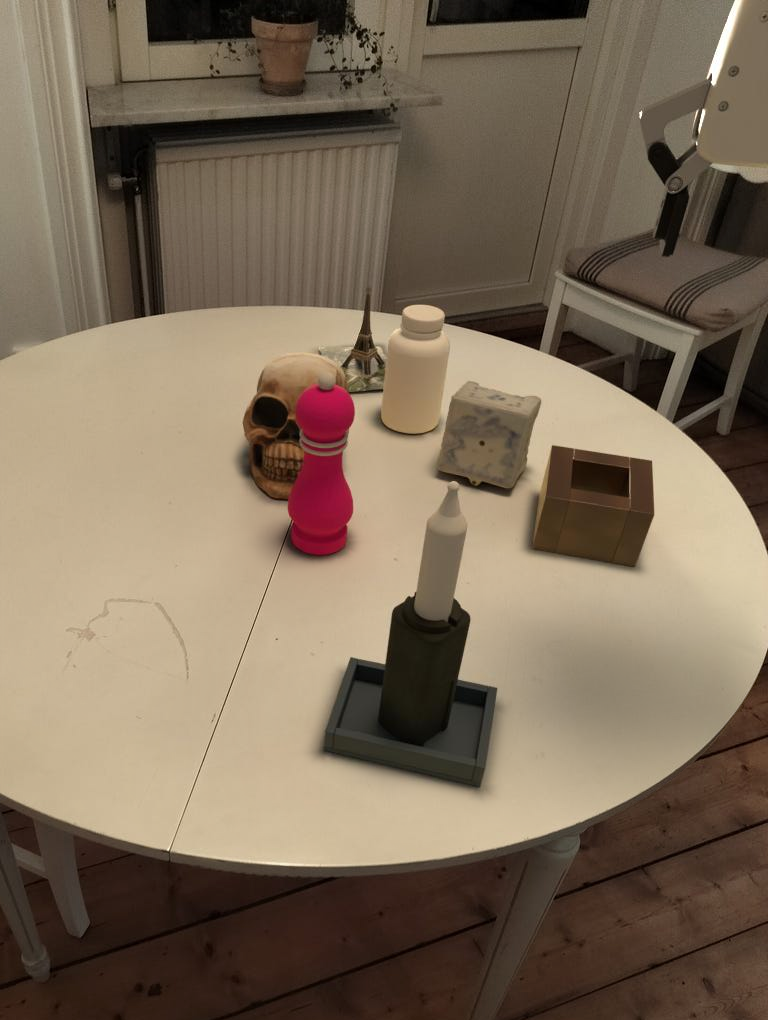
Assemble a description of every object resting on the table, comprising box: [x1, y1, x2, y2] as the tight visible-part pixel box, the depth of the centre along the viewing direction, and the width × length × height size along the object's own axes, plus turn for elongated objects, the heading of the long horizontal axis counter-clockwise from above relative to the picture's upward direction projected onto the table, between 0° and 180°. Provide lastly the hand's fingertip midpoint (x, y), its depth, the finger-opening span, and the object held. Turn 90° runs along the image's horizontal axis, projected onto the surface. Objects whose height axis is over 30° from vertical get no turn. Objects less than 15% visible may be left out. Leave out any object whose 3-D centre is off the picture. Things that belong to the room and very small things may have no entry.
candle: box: [378, 480, 472, 747], centre depth 68 cm, size 5×5×25 cm
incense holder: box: [436, 380, 542, 489], centre depth 105 cm, size 10×8×10 cm
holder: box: [531, 444, 655, 568], centre depth 97 cm, size 11×11×7 cm
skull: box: [242, 351, 350, 500], centre depth 107 cm, size 16×17×13 cm
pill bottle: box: [380, 304, 451, 434], centre depth 113 cm, size 8×8×15 cm
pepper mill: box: [287, 372, 356, 556], centre depth 91 cm, size 7×7×20 cm
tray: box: [323, 656, 498, 788], centre depth 76 cm, size 14×10×2 cm
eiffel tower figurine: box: [318, 279, 387, 393], centre depth 124 cm, size 15×10×13 cm
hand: (738, 256), depth 59 cm, fingers open, 9 cm apart
